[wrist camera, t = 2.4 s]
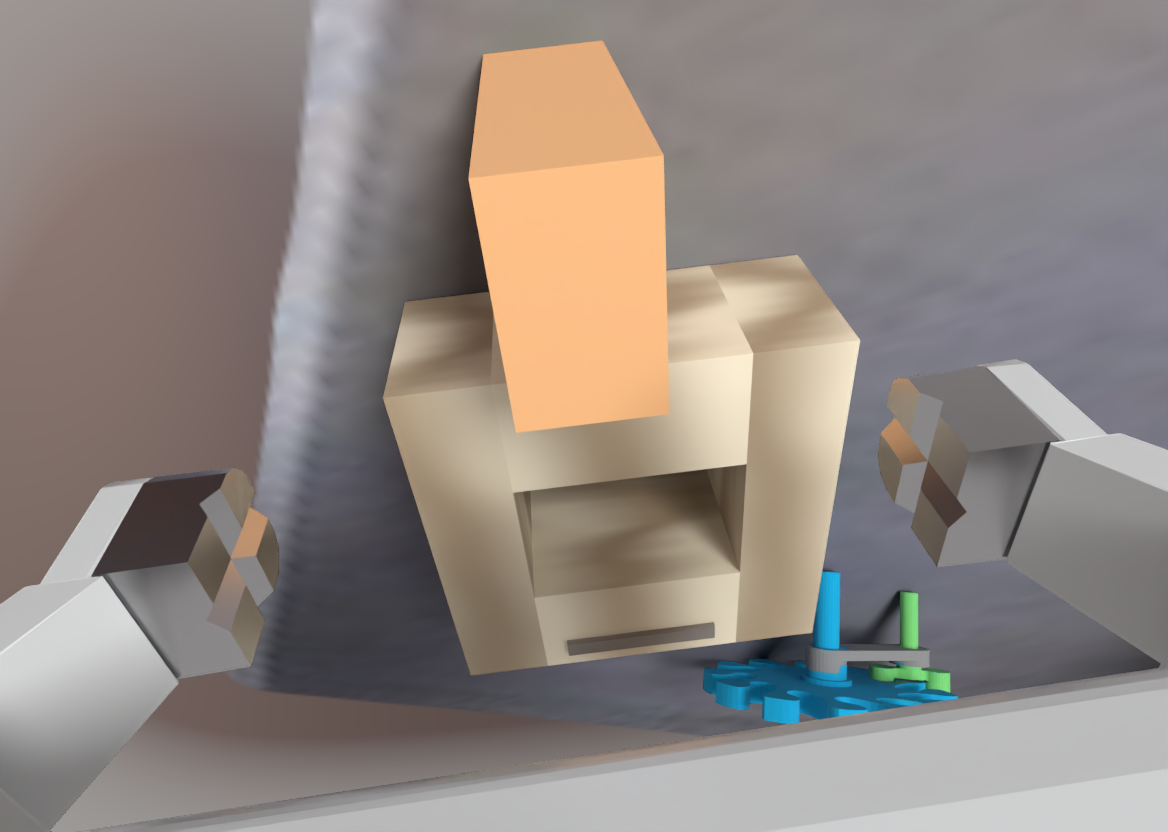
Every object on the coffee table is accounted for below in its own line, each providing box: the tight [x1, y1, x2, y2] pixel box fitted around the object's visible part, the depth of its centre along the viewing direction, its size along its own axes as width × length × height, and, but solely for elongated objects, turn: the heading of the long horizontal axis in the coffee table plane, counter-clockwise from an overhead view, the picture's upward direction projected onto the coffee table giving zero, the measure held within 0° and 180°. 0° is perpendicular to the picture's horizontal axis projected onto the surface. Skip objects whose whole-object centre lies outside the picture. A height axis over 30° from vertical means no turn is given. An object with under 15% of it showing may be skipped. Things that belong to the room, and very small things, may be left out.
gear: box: [703, 571, 958, 724], centre depth 31 cm, size 11×6×10 cm
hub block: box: [383, 255, 860, 675], centre depth 24 cm, size 12×12×5 cm
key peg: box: [468, 41, 669, 433], centre depth 16 cm, size 3×5×9 cm, turn 5°
